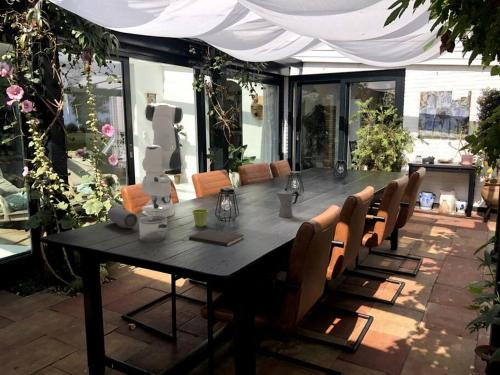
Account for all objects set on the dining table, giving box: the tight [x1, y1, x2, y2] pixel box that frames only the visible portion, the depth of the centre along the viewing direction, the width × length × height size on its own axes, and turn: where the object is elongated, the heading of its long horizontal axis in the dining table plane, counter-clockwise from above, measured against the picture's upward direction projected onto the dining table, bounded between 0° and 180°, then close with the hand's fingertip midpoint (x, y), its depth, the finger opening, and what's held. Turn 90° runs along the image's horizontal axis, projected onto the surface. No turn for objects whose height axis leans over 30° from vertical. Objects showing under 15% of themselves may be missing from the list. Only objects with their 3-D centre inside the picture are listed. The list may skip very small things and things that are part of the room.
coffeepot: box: [275, 187, 299, 218], centre depth 258 cm, size 15×9×18 cm, turn 107°
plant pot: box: [191, 208, 209, 227], centre depth 234 cm, size 9×9×9 cm
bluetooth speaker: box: [106, 206, 139, 229], centre depth 232 cm, size 23×9×10 cm, turn 41°
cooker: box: [138, 215, 169, 243], centre depth 209 cm, size 21×14×10 cm
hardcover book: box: [188, 228, 244, 247], centre depth 208 cm, size 16×23×2 cm
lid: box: [141, 199, 171, 212], centre depth 208 cm, size 15×15×5 cm
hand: (156, 204), depth 208 cm, fingers closed on lid, 3 cm apart
